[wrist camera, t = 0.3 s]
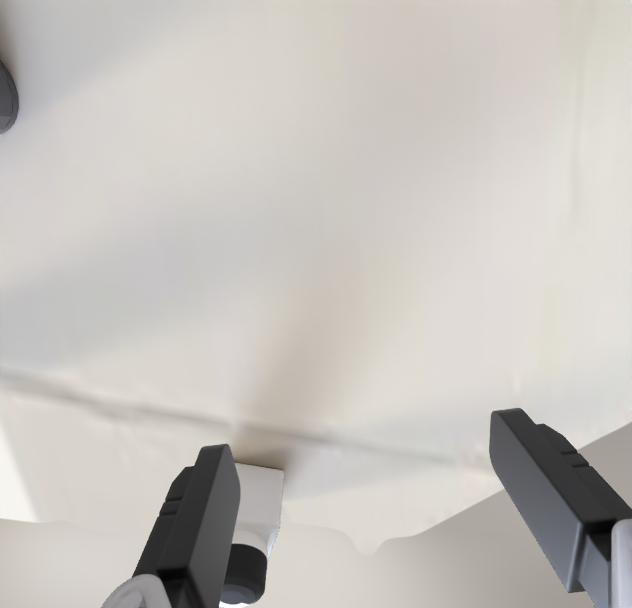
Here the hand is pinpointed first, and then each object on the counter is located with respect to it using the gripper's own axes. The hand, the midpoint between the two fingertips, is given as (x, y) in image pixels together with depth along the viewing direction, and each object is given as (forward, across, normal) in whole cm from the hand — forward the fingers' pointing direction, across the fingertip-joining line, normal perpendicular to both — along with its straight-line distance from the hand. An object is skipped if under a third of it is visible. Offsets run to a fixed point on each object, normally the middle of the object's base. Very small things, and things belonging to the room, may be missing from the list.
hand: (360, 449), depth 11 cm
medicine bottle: (+25, +13, +27) cm, 39 cm away
